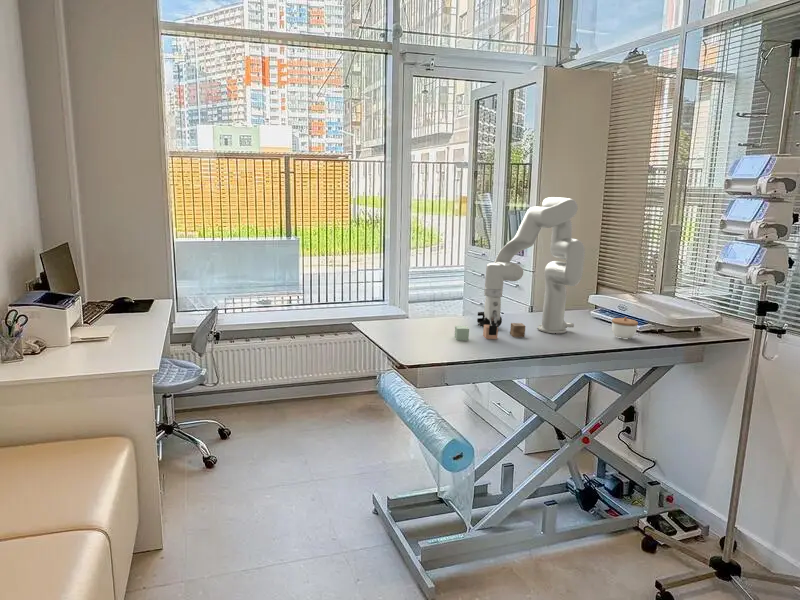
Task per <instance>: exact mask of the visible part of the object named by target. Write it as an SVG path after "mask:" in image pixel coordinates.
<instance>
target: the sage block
mask: <svg viewBox="0 0 800 600" xmlns="http://www.w3.org/2000/svg"><path fill="white" fill-rule="evenodd" d="M469 337H470V328H469V326H467V325H455V326H454V338H456V339H455V340H456V341H469V339H470V338H469Z"/></svg>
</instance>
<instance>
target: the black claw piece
mask: <svg viewBox="0 0 800 600" xmlns="http://www.w3.org/2000/svg"><path fill="white" fill-rule="evenodd" d="M477 316H478V318H477V319H476V322H477V324H478V325H477V326H479V325H480V326H479V327H481V326H484V317H485V315H484V311H478V312H477ZM480 316H481V317H480ZM479 317H480V318H479ZM497 321H498V320H497ZM502 321H503V318H502V316H501V315H500V320H499V321H498V323H497V327H498V328H499V327H500V326H501V324H502V323H503V322H502ZM492 322H493V321H492Z"/></svg>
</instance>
